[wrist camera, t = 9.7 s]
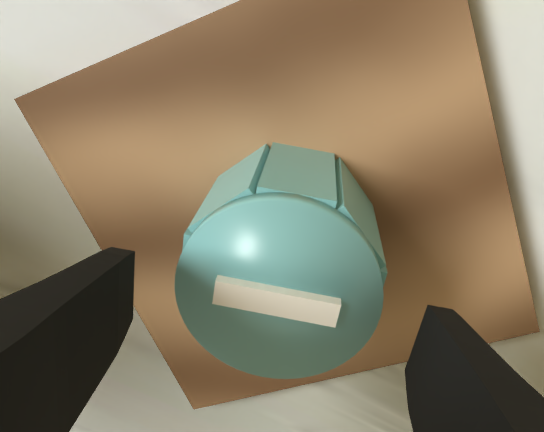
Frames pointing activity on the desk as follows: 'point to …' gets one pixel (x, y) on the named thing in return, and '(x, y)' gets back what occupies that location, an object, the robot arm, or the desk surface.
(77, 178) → the post fixture
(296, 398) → the desk surface
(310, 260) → the cap
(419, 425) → the robot arm
